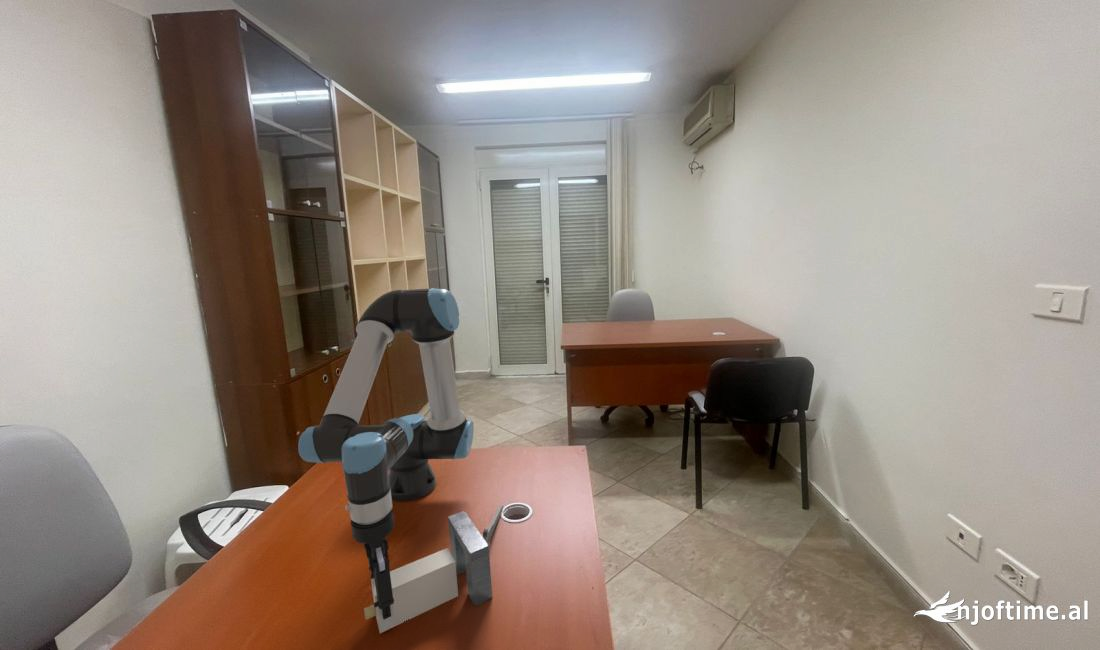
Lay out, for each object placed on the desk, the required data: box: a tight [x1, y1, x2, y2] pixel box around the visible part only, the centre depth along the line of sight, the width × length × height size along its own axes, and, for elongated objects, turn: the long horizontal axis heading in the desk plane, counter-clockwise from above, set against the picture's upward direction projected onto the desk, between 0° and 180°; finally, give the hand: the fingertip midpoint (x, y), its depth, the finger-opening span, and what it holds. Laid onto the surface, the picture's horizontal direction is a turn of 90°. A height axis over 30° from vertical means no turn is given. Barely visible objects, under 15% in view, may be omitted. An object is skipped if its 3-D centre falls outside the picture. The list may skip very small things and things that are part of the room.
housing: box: [447, 510, 493, 607], centre depth 91 cm, size 14×4×12 cm, turn 32°
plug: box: [363, 547, 459, 634], centre depth 85 cm, size 5×18×8 cm, turn 122°
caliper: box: [482, 505, 504, 549], centre depth 109 cm, size 20×1×6 cm, turn 175°
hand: (385, 617), depth 83 cm, fingers open, 5 cm apart
